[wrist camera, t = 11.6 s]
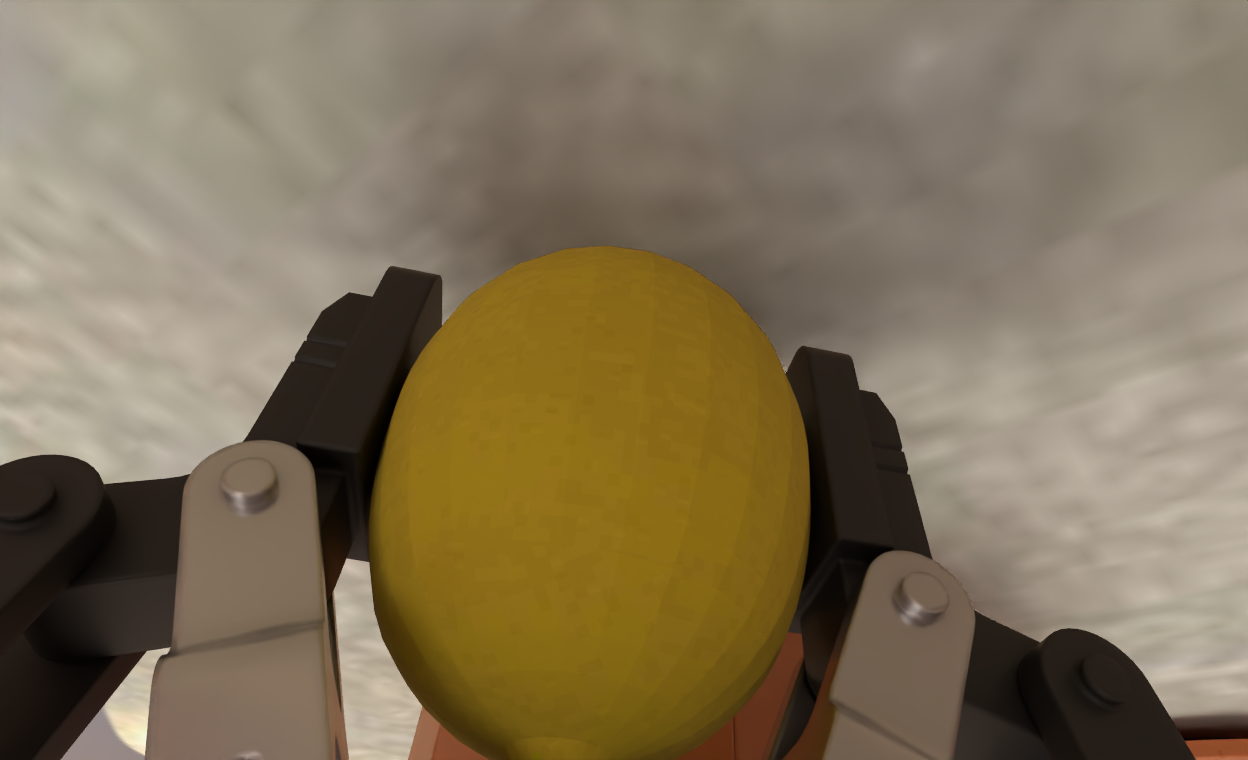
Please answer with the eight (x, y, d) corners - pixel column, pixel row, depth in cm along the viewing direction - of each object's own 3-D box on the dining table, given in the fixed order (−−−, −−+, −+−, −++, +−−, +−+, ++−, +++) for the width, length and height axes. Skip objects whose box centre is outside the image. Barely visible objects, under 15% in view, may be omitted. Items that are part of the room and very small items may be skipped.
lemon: (536, 431, 15) (436, 888, 10) (401, 198, 12) (111, 697, 6) (808, 382, 14) (887, 888, 8) (745, 101, 10) (804, 633, 5)
